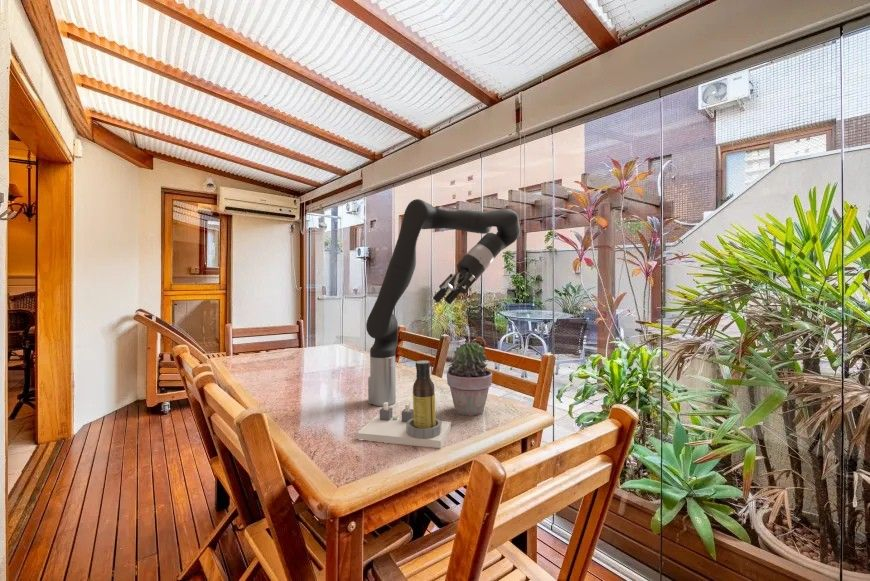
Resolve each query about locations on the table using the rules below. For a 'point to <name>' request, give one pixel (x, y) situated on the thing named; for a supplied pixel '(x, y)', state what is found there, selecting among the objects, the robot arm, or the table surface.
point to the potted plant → (469, 378)
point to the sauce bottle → (423, 397)
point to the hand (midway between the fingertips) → (440, 301)
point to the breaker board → (403, 429)
